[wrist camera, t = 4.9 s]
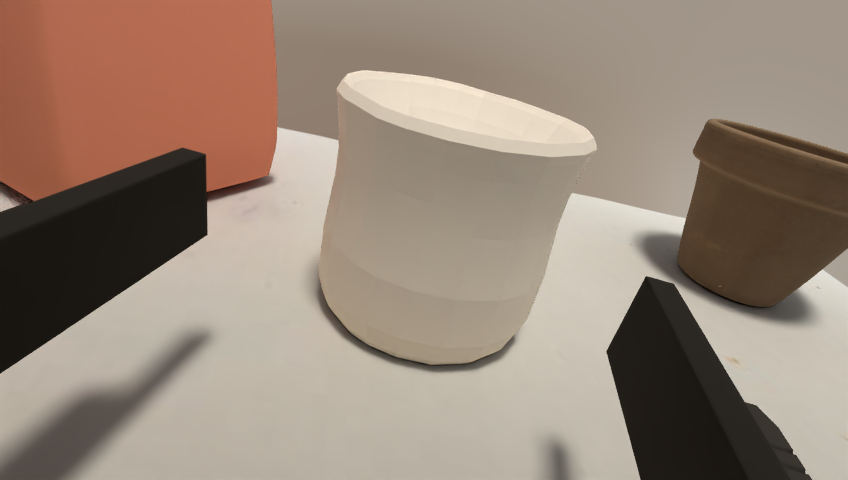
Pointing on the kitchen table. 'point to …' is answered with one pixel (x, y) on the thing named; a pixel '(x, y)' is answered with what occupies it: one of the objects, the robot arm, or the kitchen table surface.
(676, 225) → the kitchen table surface
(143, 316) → the kitchen table surface
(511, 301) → the cup
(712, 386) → the robot arm
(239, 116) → the teapot
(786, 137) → the flower pot
